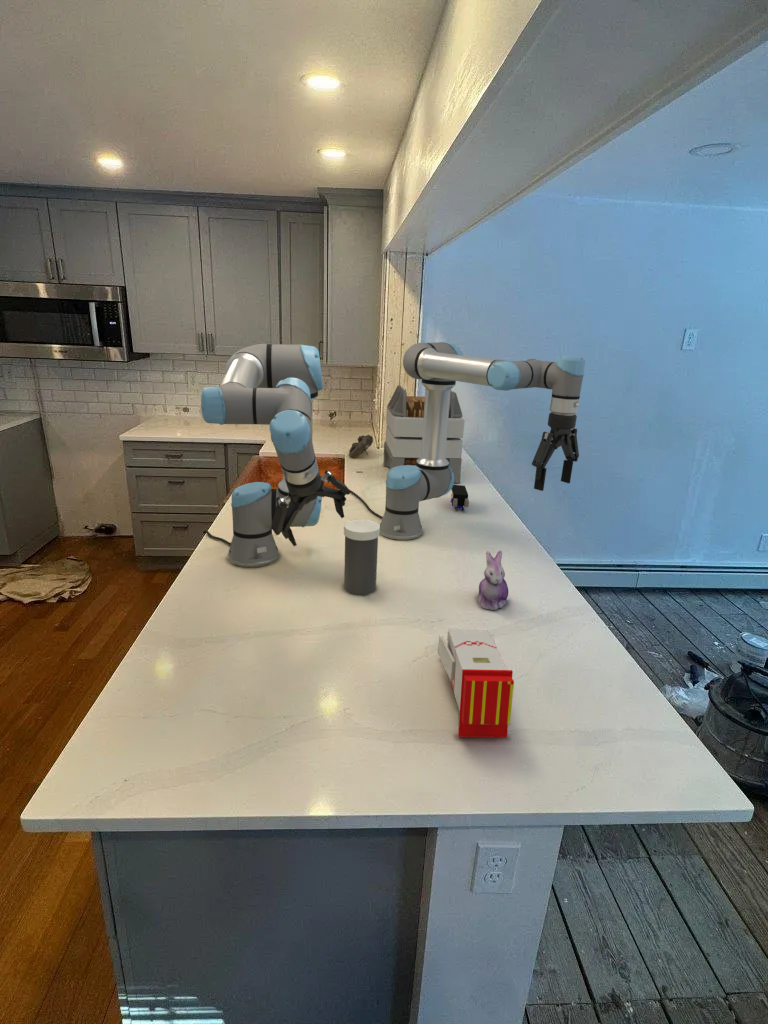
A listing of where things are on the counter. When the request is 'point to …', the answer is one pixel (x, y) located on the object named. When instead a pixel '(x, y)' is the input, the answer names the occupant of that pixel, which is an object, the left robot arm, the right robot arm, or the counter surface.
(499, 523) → the counter surface
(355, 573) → the jar
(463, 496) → the figurine character
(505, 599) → the figurine
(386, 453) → the grey and brown box
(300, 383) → the left robot arm
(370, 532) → the lid
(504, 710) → the toy
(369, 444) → the fossil
